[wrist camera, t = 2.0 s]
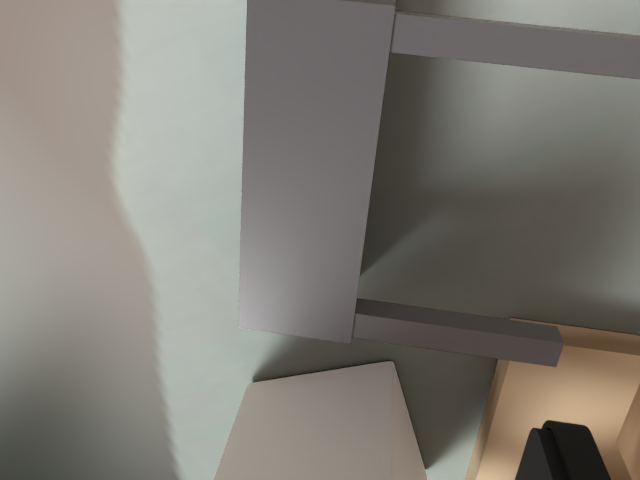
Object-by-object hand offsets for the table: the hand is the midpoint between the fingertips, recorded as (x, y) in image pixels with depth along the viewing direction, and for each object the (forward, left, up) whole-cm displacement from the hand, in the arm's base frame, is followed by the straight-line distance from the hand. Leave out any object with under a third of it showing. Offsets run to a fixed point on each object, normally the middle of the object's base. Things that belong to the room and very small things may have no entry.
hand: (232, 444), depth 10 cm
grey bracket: (-1, +3, -15) cm, 15 cm away
